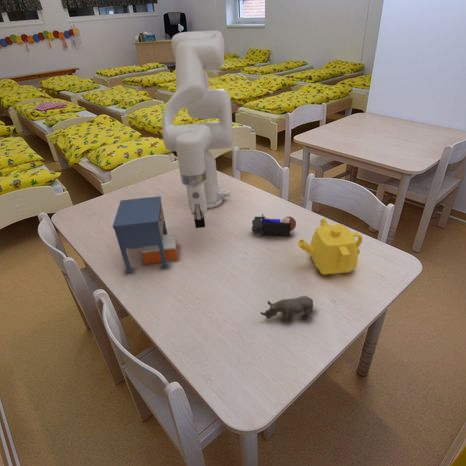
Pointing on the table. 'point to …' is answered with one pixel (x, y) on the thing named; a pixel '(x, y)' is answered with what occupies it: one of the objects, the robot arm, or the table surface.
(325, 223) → the teapot
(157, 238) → the drawer unit
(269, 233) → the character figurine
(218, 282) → the table surface
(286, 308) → the rhino figurine
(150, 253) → the storage box
